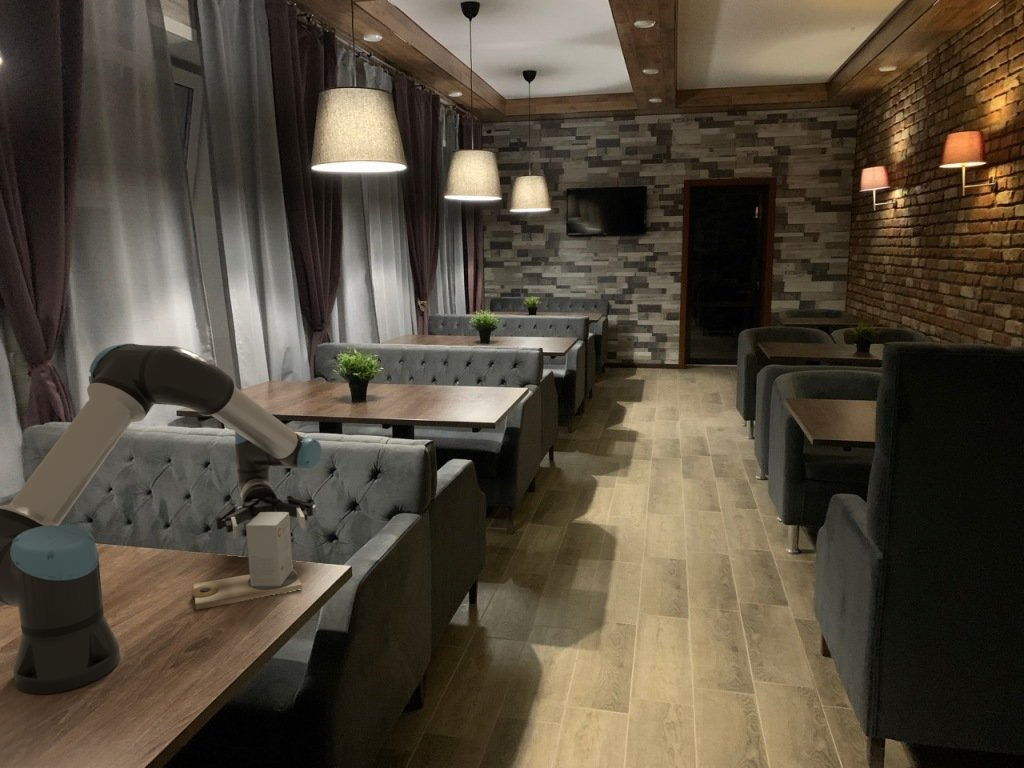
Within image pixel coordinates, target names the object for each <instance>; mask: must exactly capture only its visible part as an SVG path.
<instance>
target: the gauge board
mask: <svg viewBox="0 0 1024 768" xmlns="http://www.w3.org/2000/svg"><path fill="white" fill-rule="evenodd" d="M298 589H302V590H303V585H302V582H301V579H300V578H299V575H298V572H297V570H296V568H295V566H293V571H292V572H291V573H290V574H289V576H288V577H287V578H286V580H285V581H284V582H283V583H282V585H281V586H251V583H250V573H249V574H244V575H237V576H233V577H232V576H231V577H226V578H225V577H224V578H220V579H214V580H209V581H203V582H197V583H193V589H192V591H191V596H192V597H194V601H195V602H194V603H195V604H194V605H195V610H196V611H197V610H201V609H209V608H212V607H213V608H214V607H219V606H225V605H229V604H234V603H240V601H241V602H245V601H244V600H246V601H250V600H249V599H251V600H255V599H254V598H257V599H260V598H259V597H262V598H265V597H264V596H268V597H270V596H269V595H273V594H278V595H281V594H280V593H284V594H286V593H285V592H289V591H293V590H298ZM289 593H290V592H289ZM273 596H274V595H273Z"/></svg>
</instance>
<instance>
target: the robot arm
mask: <svg viewBox="0 0 1024 768" xmlns="http://www.w3.org/2000/svg"><path fill="white" fill-rule="evenodd" d="M88 372H89V373H90V375H89V376H88V383H89V384H88V386H87V387H86V393H87V395H88V396H87V397H88V400H87V402H86V403H85V404H84V405H83V407H82V408H81V409H80V410H79V412H78V413H77V414H76V416H75V417H74V418H73V420H72V421H71V422H70V423H69V425H68V427H67V428H66V429H65V430H64V432H63V433H62V434H61V435H60V437H59V438H58V439H57V441H56V442H55V443H54V445H53V446H52V448H51V449H50V450H49V452H48V453H47V454H46V455H45V456H44V457H43V459H42V461H41V462H40V463H39V464H38V465H37V467H36V468H35V470H33V472H32V473H31V475H30V476H29V478H28V479H27V480H26V482H25V483H24V484H23V486H22V487H21V488H20V489H19V491H18V492H17V493H16V495H15V496H14V497H13V499H12V500H11V501H10V502H9V503H8V504H4V505H0V604H2V605H8V606H12V607H17V608H18V613H19V621H20V622H19V623H20V628H21V639H20V642H19V646H18V650H17V654H16V659H15V662H14V665H13V677H14V685H15V687H16V688H17V689H18V690H19V691H22V692H24V693H28V694H32V695H49V694H51V695H52V694H58V693H63V692H67V691H72V690H75V689H78V688H80V687H84V686H87V685H89V684H91V683H93V682H96V681H97V680H100V679H101V678H103V677H105V676H107V674H109V673H110V672H112V671H113V670H114V669H115V668H116V667H117V665H118V664H119V663H120V660H121V652H120V651H121V650H120V644H119V642H118V639H117V638H116V636H115V634H114V631H113V630H112V628H111V626H110V624H109V623H108V621H107V618H106V617H105V614H104V606H103V605H104V604H103V593H102V582H101V580H102V579H101V571H100V570H101V569H100V558H99V557H100V554H99V551H98V547H97V544H96V539H95V538H94V535H93V534H92V533H91V532H90V531H88V529H85V528H83V527H81V526H77V525H73V524H61V523H62V522H63V520H64V518H65V517H66V516H67V515H68V513H69V512H70V510H71V509H72V507H73V506H74V504H75V503H76V502H77V500H78V499H79V498H80V496H81V494H82V493H83V491H84V490H85V489H86V488H87V486H88V484H89V483H90V481H92V479H93V478H94V476H95V474H96V473H97V472H98V470H99V469H100V467H101V466H102V465H103V463H104V462H105V460H106V459H107V458H108V456H109V455H110V453H112V450H113V449H114V448H115V446H116V445H117V444H118V442H119V440H120V439H121V437H122V436H123V435H124V433H125V432H126V430H127V429H128V427H129V426H130V425H131V423H136V422H140V421H143V420H144V419H145V418H146V416H147V414H148V413H150V410H152V408H153V406H154V405H163V406H165V405H166V406H167V405H169V406H177V407H183V408H187V409H191V410H192V411H194V412H196V413H197V414H199V415H201V416H208V417H210V416H212V417H213V418H215V419H216V420H217V421H219V422H221V423H222V424H223V425H225V426H226V427H228V428H230V429H231V430H232V431H234V433H235V434H234V436H235V437H234V439H235V441H234V446H235V447H234V449H235V456H236V469H237V471H236V472H237V473H236V474H237V481H236V486H237V489H236V490H237V492H238V493H239V496H240V499H241V502H242V505H239V506H238V505H237V504H236V503H233V502H232V503H230V504H229V505H228V507H227V508H226V509H225V510H223V511H222V512H221V513H220V514H219V515H218V516H216V517H215V521H216V522H215V523H216V524H215V525H216V529H217V530H222V529H224V528H225V531H226V533H232V535H233V538H234V540H238V539H239V531H238V530H239V529H238V528H239V527H238V525H240V524H242V523H243V522H245V521H247V520H248V521H251V520H252V519H254V518H255V517H256V516H257V515H258V514H259V513H260V512H289V517H293V518H296V521H297V522H298V524H299V526H300V529H301V530H306V521H308V519H309V518H308V517H312V516H314V511H313V509H314V507H313V504H312V503H309V502H305V501H303V500H299V499H296V498H294V496H292V495H291V496H290V495H287V496H286V497H285V499H283V500H281V499H279V498H278V497H277V495H276V492H275V491H274V489H273V486H272V483H271V472H270V467H279V468H285V469H295V470H299V471H300V470H313V469H315V468H316V467H317V466H318V465H319V463H320V462H321V458H322V455H323V454H322V452H323V451H322V446H321V443H320V441H319V440H318V439H316V438H312V437H308V436H305V437H303V436H301V435H299V434H298V433H297V432H295V431H294V430H293V429H291V428H290V427H289V426H287V425H286V424H285V423H284V422H282V421H281V420H280V419H278V418H276V417H275V416H274V415H273V414H271V413H270V412H269V411H268V410H266V409H265V408H263V407H262V406H261V405H260V404H259V403H257V402H256V401H255V400H253V399H252V398H250V397H249V396H248V395H247V394H245V393H244V392H243V391H242V390H240V389H239V388H238V387H236V385H235V380H234V379H233V378H232V377H231V376H230V375H229V374H227V372H225V371H224V370H223V369H222V368H219V366H217V365H215V364H214V363H213V362H211V361H210V360H208V359H206V358H204V357H202V356H201V355H199V354H197V353H196V352H193V351H191V350H189V349H186V348H183V347H179V346H176V345H154V344H153V345H150V344H138V343H137V344H136V343H123V344H115V345H111V346H109V347H106V348H105V349H102V351H100V352H99V353H98V354H97V355H96V356H95V357H94V358H93V360H92V362H91V364H90V367H89V371H88Z"/></svg>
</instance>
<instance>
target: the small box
mask: <svg viewBox="0 0 1024 768" xmlns="http://www.w3.org/2000/svg"><path fill="white" fill-rule="evenodd" d="M290 520H291V519H290V516H289V512H260V513H259V514H258V515H257V516H256V517H255V518H253V519H251V520H249V522H248V523H247V524H246V525H245V531H246V543H247V555H248V569H249V574H250V583H251V586H281V585H282V583H283V582H284V581H285V580H286V578H287V577H288V576H289V574H290V573H291V572H292V571H293V567H294V565H293V554H292V553H293V552H292V537H291V536H292V535H291V521H290Z"/></svg>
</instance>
